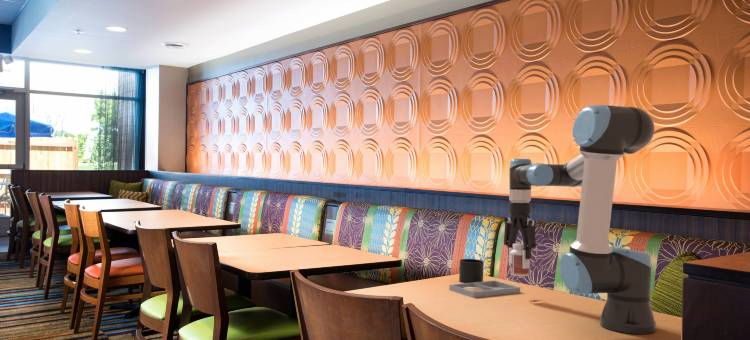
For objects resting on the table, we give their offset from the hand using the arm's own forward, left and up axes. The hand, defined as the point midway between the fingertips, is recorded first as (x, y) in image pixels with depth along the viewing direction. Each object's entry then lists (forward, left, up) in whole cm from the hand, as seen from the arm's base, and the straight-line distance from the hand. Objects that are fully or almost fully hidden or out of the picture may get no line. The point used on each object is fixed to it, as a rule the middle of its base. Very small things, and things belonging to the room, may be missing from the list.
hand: (519, 266), depth 209 cm
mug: (+31, -2, -12) cm, 33 cm away
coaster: (+13, +10, -11) cm, 19 cm away
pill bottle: (0, 0, -3) cm, 3 cm away
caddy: (+13, +5, -11) cm, 18 cm away
